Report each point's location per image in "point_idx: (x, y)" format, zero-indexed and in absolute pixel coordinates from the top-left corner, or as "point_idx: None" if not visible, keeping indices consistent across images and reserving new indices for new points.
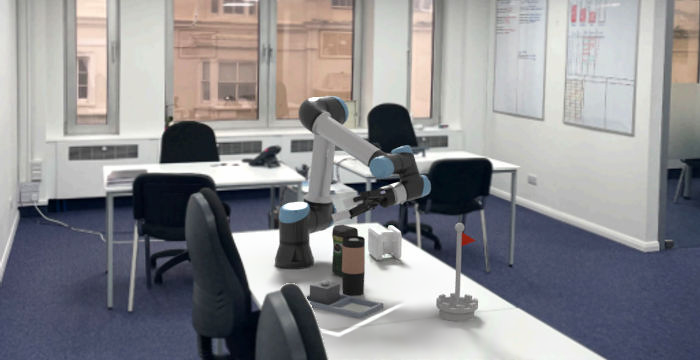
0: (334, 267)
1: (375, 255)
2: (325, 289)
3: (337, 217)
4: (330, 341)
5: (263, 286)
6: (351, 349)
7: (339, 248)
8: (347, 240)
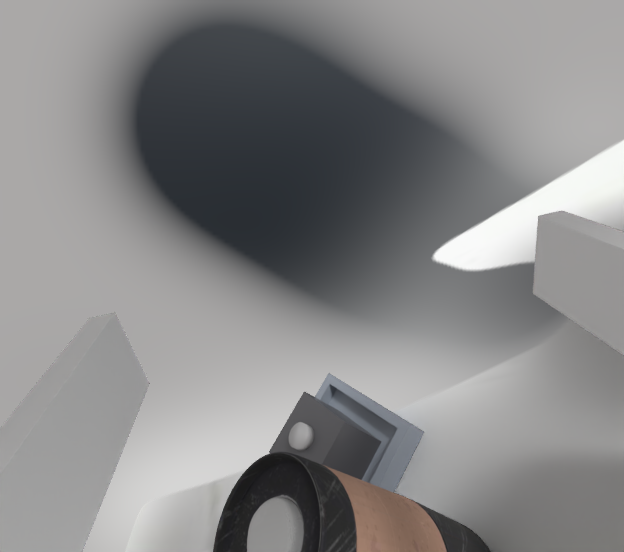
0: None
1: None
2: (274, 447)
3: (567, 286)
4: (175, 494)
5: (496, 235)
6: (140, 541)
7: None
8: (234, 487)
